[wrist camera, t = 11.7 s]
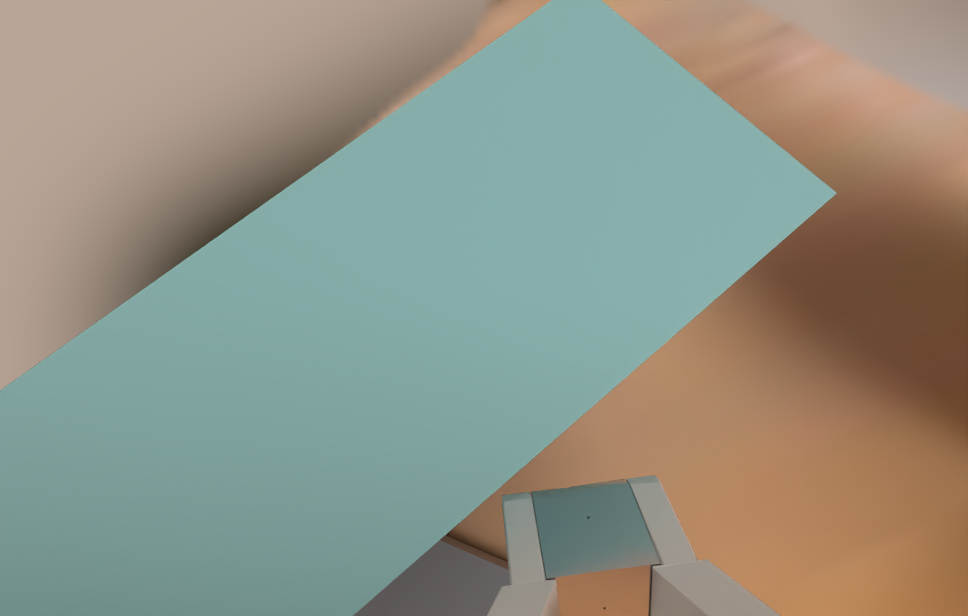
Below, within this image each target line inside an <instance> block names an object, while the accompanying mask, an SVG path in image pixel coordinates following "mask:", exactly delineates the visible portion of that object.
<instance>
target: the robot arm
mask: <svg viewBox="0 0 968 616" xmlns="http://www.w3.org/2000/svg"><path fill="white" fill-rule="evenodd" d="M502 506H503V516H504V526H505V536H506V546H507V556H508V566H509V576H510V585H506V586H501V588H500V590H499V592H498V594H497V596H496V598H495V600H494V602H493V604H492V606H491V608H490V610H489V612H488V614H487V616H781V615H779V614H778V613H777V612H776V611H774V610H773V609H772V608H770V607H769V606H768V605H766V604H765V603H764V602H762V601H761V600H760V599H758V598H757V597H756V596H755V595H753V594H752V593H751V592H749V591H748V590H747V589H745V588H744V587H743V586H741V585H740V584H739V583H737V582H736V581H735V580H734V579H732V578H731V577H730V576H728V575H727V574H726V573H724V572H723V571H722V570H720V569H719V568H718V567H717V566H715V565H714V564H713V563H711V562H710V561H709V560H707V559H706V560H697V558H696V555H695V553H694V551H693V549H692V547H691V545H690V543H689V541H688V539H687V537H686V535H685V533H684V530H683V528H682V526H681V524H680V522H679V520H678V518H677V516H676V514H675V512H674V510H673V507H672V505H671V503H670V501H669V499H668V497H667V495H666V493H665V491H664V489H663V487H662V484H661V482H660V480H659V479H658V478H657V477H656V476H655V475H653V476H646V477H638V478H631V479H626V480H625V479H620V480H614V481H607V482H600V483H594V484H587V485H580V486H573V487H570V488H561V489H552V490H543V491H533V492H531V493H530V492H527V493H518V494H510V495H503V499H502Z"/></svg>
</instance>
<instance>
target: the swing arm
mask: <svg viewBox="0 0 968 616" xmlns="http://www.w3.org/2000/svg"><path fill="white" fill-rule="evenodd" d="M835 194H836V192H835V191H834V190H833V189H831V188H830V187H829V186H828V185H826V184H825V183H824V182H823V181H822V180H820V179H819V178H818V177H817V176H815V175H814V174H813V173H812V172H811V171H809V170H808V169H807V168H806V167H804V166H803V165H802V164H801V163H800V162H798V161H797V160H796V159H795V158H793V157H792V156H791V155H790V154H789V153H787V152H786V151H785V150H784V149H782V148H781V147H780V146H779V145H778V144H776V143H775V142H774V141H773V140H771V139H770V138H769V137H768V136H767V135H765V134H764V133H763V132H762V131H760V130H759V129H758V128H757V127H755V126H754V125H753V124H752V123H751V122H749V121H748V120H747V119H746V118H744V117H743V116H742V115H741V114H740V113H738V112H737V111H736V110H735V109H733V108H732V107H731V106H730V105H729V104H727V103H726V102H725V101H724V100H722V99H721V98H720V97H719V96H718V95H716V94H715V93H714V92H713V91H711V90H710V89H709V88H708V87H707V86H705V85H704V84H703V83H702V82H700V81H699V80H698V79H697V78H696V77H694V76H693V75H692V74H691V73H689V72H688V71H687V70H686V69H685V68H683V67H682V66H681V65H680V64H678V63H677V62H676V61H675V60H674V59H672V58H671V57H670V56H669V55H667V54H666V53H665V52H664V51H663V50H661V49H660V48H659V47H658V46H656V45H655V44H654V43H653V42H652V41H650V40H649V39H648V38H647V37H645V36H644V35H643V34H642V33H640V32H639V31H638V30H637V29H636V28H634V27H633V26H632V25H631V24H629V23H628V22H627V21H626V20H625V19H623V18H622V17H621V16H620V15H618V14H617V13H616V12H615V11H614V10H612V9H611V8H610V7H609V6H607V5H606V4H605V3H604V2H603V1H601V0H551V1H550V2H549V3H547V4H546V5H544V6H543V7H542V8H540V9H539V10H537V11H536V12H535V13H533V14H532V15H530V16H529V17H527V18H526V19H525V20H523V21H522V22H520V23H519V24H518V25H516V26H515V27H513V28H512V29H510V30H509V31H508V32H506V33H505V34H503V35H502V36H501V37H499V38H498V39H496V40H495V41H494V42H492V43H491V44H489V45H488V46H486V47H485V48H484V49H482V50H481V51H479V52H478V53H477V54H475V55H474V56H472V57H471V58H469V59H468V60H467V61H465V62H464V63H462V64H461V65H460V66H458V67H457V68H455V69H454V70H453V71H451V72H450V73H448V74H447V75H445V76H444V77H443V78H441V79H440V80H438V81H437V82H436V83H434V84H433V85H431V86H430V87H428V88H427V89H426V90H424V91H423V92H421V93H420V94H419V95H417V96H416V97H414V98H413V99H412V100H410V101H409V102H407V103H406V104H404V105H403V106H402V107H400V108H399V109H397V110H396V111H395V112H393V113H392V114H390V115H389V116H387V117H386V118H385V119H383V120H382V121H380V122H379V123H378V124H376V125H375V126H373V127H372V128H371V129H369V130H368V131H366V132H365V133H363V134H362V135H361V136H359V137H358V138H356V139H355V140H354V141H352V142H351V143H349V144H348V145H346V146H345V147H344V148H342V149H341V150H339V151H338V152H337V153H335V154H334V155H332V156H331V157H330V158H328V159H327V160H325V161H324V162H322V163H321V164H320V165H318V166H317V167H315V168H314V169H313V170H311V171H310V172H308V173H307V174H305V175H304V176H303V177H301V178H300V179H298V180H297V181H296V182H294V183H293V184H291V185H290V186H289V187H287V188H286V189H284V190H283V191H281V192H280V193H279V194H277V195H276V196H274V197H273V198H272V199H270V200H269V201H267V202H266V203H264V204H263V205H262V206H260V207H259V208H258V209H256V210H255V211H254V212H252V213H250V214H249V215H248V216H246V217H245V218H243V219H242V220H240V221H239V222H238V223H236V224H235V225H233V226H232V227H231V228H229V229H228V230H226V231H225V232H223V233H222V234H221V235H219V236H218V237H217V238H215V239H214V240H212V241H211V242H209V243H208V244H207V245H205V246H204V247H202V248H201V249H199V250H198V251H197V252H195V253H194V254H192V255H191V256H190V257H188V258H187V259H185V260H184V261H182V262H181V263H180V264H178V265H177V266H175V267H174V268H173V269H171V270H170V271H168V272H167V273H166V274H164V275H163V276H161V277H160V278H158V279H157V280H156V281H154V282H153V283H151V284H150V285H149V286H147V287H146V288H144V289H143V290H141V291H140V292H139V293H137V294H136V295H134V296H133V297H132V298H130V299H129V300H127V301H126V302H125V303H123V304H122V305H120V306H119V307H118V308H116V309H115V310H113V311H112V312H110V313H109V314H108V315H106V316H105V317H103V318H102V319H100V320H99V321H98V322H96V323H95V324H93V325H92V326H91V327H89V328H88V329H86V330H85V331H84V332H82V333H81V334H79V335H78V336H77V337H75V338H74V339H72V340H71V341H69V342H68V343H67V344H65V345H64V346H63V347H61V348H60V349H58V350H57V351H55V352H54V353H53V354H51V355H50V356H48V357H47V358H45V359H44V360H43V361H41V362H40V363H38V364H37V365H35V366H34V367H33V368H31V369H30V370H29V371H27V372H26V373H24V374H23V375H21V376H20V377H18V378H17V379H16V380H14V381H13V382H11V383H10V384H9V385H7V386H6V387H4V388H3V389H2V390H0V616H353V615H354V614H355V613H357V612H358V611H359V610H360V609H361V608H362V607H363V606H365V605H366V604H367V603H368V602H369V601H370V600H371V599H373V598H374V597H375V596H376V595H377V594H378V593H379V592H381V591H382V590H383V589H384V588H385V587H386V586H388V585H389V584H390V583H391V582H392V581H393V580H394V579H396V578H397V577H398V576H399V575H400V574H401V573H402V572H404V571H405V570H406V569H407V568H408V567H409V566H410V565H412V564H413V563H414V562H415V561H416V560H417V559H418V558H420V557H421V556H422V555H423V554H424V553H425V552H426V551H428V550H429V549H430V548H431V547H432V546H433V545H434V544H436V543H437V542H438V541H439V540H440V539H441V538H442V537H444V536H445V535H446V534H447V533H448V532H449V531H451V530H452V529H453V528H454V527H455V526H456V525H457V524H459V523H460V522H461V521H462V520H463V519H464V518H465V517H467V516H468V515H469V514H470V513H471V512H472V511H473V510H475V509H476V508H477V507H478V506H479V505H480V504H481V503H483V502H484V501H485V500H486V499H487V498H488V497H489V496H491V495H492V494H493V493H494V492H495V491H496V490H497V489H499V488H500V487H501V486H502V485H503V484H504V483H505V482H507V481H508V480H509V479H510V478H511V477H512V476H514V475H515V474H516V473H517V472H518V471H519V470H520V469H522V468H523V467H524V466H525V465H526V464H527V463H528V462H530V461H531V460H532V459H533V458H534V457H535V456H536V455H538V454H539V453H540V452H541V451H542V450H543V449H544V448H546V447H547V446H548V445H549V444H550V443H551V442H552V441H554V440H555V439H556V438H557V437H558V436H559V435H560V434H562V433H563V432H564V431H565V430H566V429H567V428H568V427H570V426H571V425H572V424H573V423H574V422H575V421H576V420H578V419H579V418H580V417H581V416H582V415H583V414H585V413H586V412H587V411H588V410H589V409H590V408H591V407H593V406H594V405H595V404H596V403H597V402H598V401H599V400H601V399H602V398H603V397H604V396H605V395H606V394H607V393H609V392H610V391H611V390H612V389H613V388H614V387H615V386H617V385H618V384H619V383H620V382H621V381H622V380H623V379H625V378H626V377H627V376H628V375H629V374H630V373H631V372H633V371H634V370H635V369H636V368H637V367H638V366H639V365H641V364H642V363H643V362H644V361H645V360H646V359H648V358H649V357H650V356H651V355H652V354H653V353H654V352H656V351H657V350H658V349H659V348H660V347H661V346H662V345H664V344H665V343H666V342H667V341H668V340H669V339H670V338H672V337H673V336H674V335H675V334H676V333H677V332H678V331H680V330H681V329H682V328H683V327H684V326H685V325H686V324H688V323H689V322H690V321H691V320H692V319H693V318H694V317H696V316H697V315H698V314H699V313H700V312H701V311H702V310H704V309H705V308H706V307H707V306H708V305H709V304H711V303H712V302H713V301H714V300H715V299H716V298H717V297H719V296H720V295H721V294H722V293H723V292H724V291H725V290H727V289H728V288H729V287H730V286H731V285H732V284H733V283H735V282H736V281H737V280H738V279H739V278H740V277H741V276H743V275H744V274H745V273H746V272H747V271H748V270H749V269H751V268H752V267H753V266H754V265H755V264H756V263H757V262H759V261H760V260H761V259H762V258H763V257H764V256H765V255H767V254H768V253H769V252H770V251H771V250H772V249H774V248H775V247H776V246H777V245H778V244H779V243H780V242H782V241H783V240H784V239H785V238H786V237H787V236H788V235H790V234H791V233H792V232H793V231H794V230H795V229H796V228H798V227H799V226H800V225H801V224H802V223H803V222H804V221H806V220H807V219H808V218H809V217H810V216H811V215H812V214H814V213H815V212H816V211H817V210H818V209H819V208H820V207H822V206H823V205H824V204H825V203H826V202H827V201H828V200H830V199H831V198H832V197H833V196H834V195H835Z"/></svg>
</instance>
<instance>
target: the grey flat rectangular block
mask: <svg viewBox="0 0 968 616" xmlns="http://www.w3.org/2000/svg"><path fill="white" fill-rule="evenodd" d="M506 585H510V576H509V566H508V562H507V561H504V560H502V559H500V558H497V557H495V556H493V555H490V554H488V553H486V552H484V551H481V550H479V549H477V548H474V547H472V546H470V545H467V544H465V543H463V542H460V541H458V540H456V539H454V538H451V537H449V536H447V535H445V536H444V537H442V538H441V539H440V540H439V541H438V542H437V543H436V544H434V545H433V546H432V547H431V548H430V549H429V550H428V551H426V552H425V553H424V554H423V555H422V556H421V557H420V558H418V559H417V560H416V561H415V562H414V563H413V564H412V565H410V566H409V567H408V568H407V569H406V570H405V571H404V572H402V573H401V574H400V575H399V576H398V577H397V578H396V579H394V580H393V581H392V582H391V583H390V584H389V585H388V586H386V587H385V588H384V589H383V590H382V591H381V592H379V593H378V594H377V595H376V596H375V597H374V598H373V599H371V600H370V601H369V602H368V603H367V604H366V605H365V606H363V607H362V608H361V609H360V610H359V611H358V612H357V613H355V614H354V615H353V616H487V614H488V612H489V610H490V608H491V606H492V604H493V602H494V600H495V598H496V596H497V594H498V592H499V590H500V588H501V586H506Z"/></svg>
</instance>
